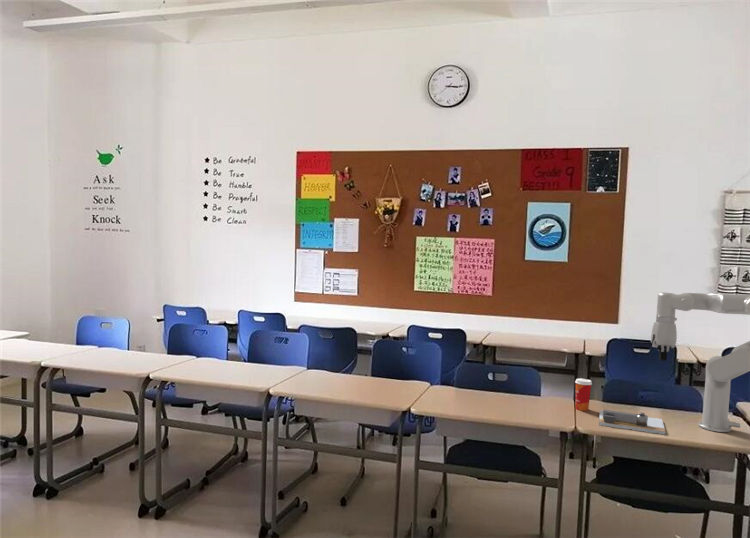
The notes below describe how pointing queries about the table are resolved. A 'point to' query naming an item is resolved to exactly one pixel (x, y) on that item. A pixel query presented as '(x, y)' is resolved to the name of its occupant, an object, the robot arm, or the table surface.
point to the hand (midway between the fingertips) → (662, 360)
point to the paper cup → (583, 394)
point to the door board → (652, 424)
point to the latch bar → (627, 417)
